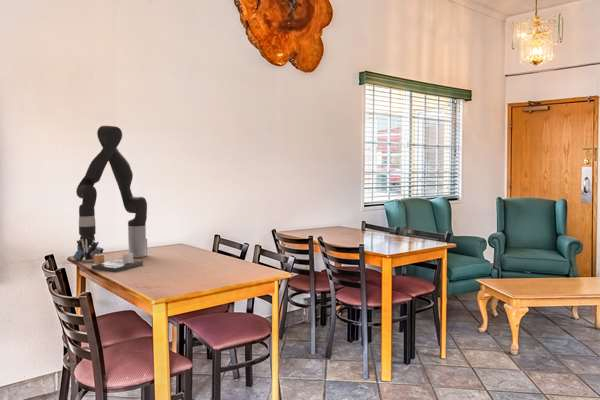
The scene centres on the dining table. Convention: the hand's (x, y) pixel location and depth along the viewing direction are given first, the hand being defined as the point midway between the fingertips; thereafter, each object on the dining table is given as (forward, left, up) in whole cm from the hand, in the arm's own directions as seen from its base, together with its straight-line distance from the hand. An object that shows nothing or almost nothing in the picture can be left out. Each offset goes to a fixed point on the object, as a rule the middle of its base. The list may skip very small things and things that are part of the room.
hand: (88, 259), depth 239 cm
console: (-7, +13, -4) cm, 15 cm away
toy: (-12, -14, -4) cm, 19 cm away
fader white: (-8, +18, -1) cm, 20 cm away
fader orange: (0, +7, -1) cm, 7 cm away
